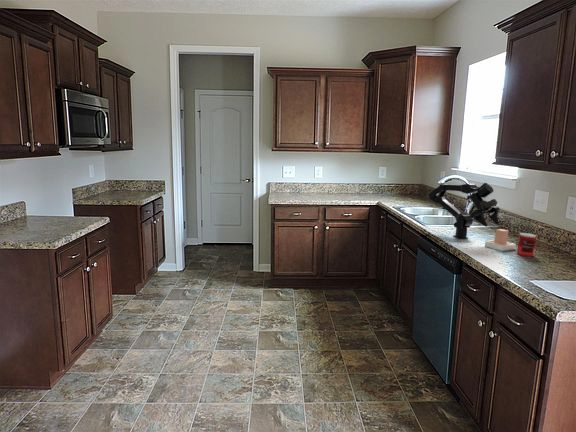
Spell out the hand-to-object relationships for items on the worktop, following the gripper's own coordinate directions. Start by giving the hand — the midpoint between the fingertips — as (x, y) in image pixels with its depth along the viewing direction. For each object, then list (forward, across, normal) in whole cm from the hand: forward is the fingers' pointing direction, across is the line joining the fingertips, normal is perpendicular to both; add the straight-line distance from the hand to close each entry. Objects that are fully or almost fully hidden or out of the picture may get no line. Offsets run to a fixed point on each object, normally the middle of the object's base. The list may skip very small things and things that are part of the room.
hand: (492, 225), depth 237 cm
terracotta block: (+12, 0, +3) cm, 13 cm away
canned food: (+23, +1, -7) cm, 24 cm away
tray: (+12, 0, +4) cm, 13 cm away
